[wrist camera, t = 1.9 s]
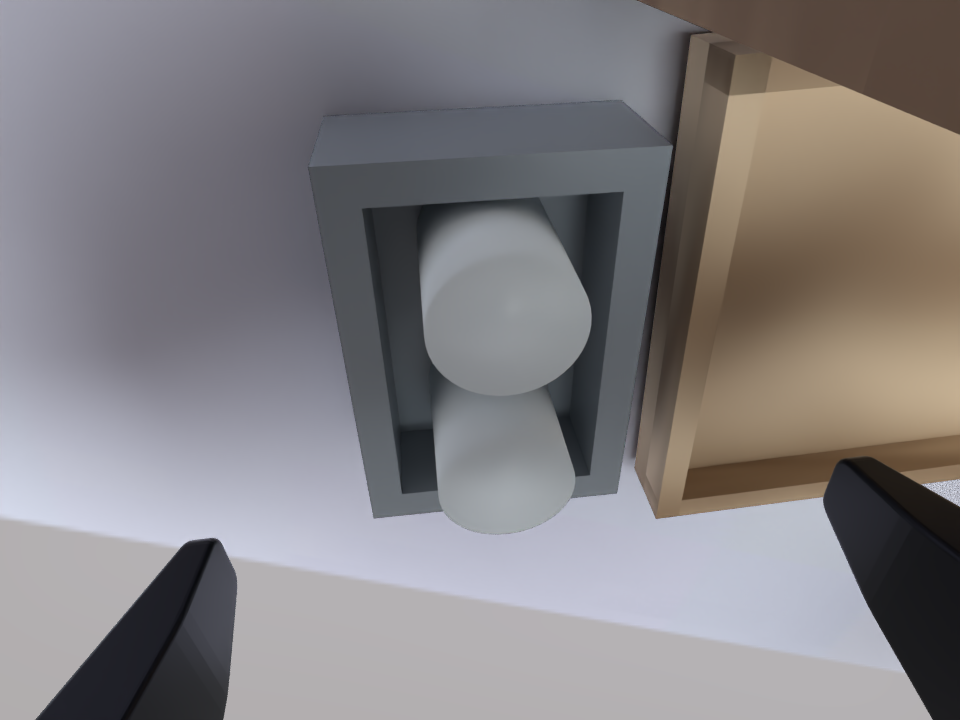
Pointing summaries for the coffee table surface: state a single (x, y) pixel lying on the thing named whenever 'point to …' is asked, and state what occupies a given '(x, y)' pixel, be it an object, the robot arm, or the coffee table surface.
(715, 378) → the shallow wooden box
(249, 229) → the coffee table surface
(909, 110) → the wooden stand
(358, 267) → the tray
